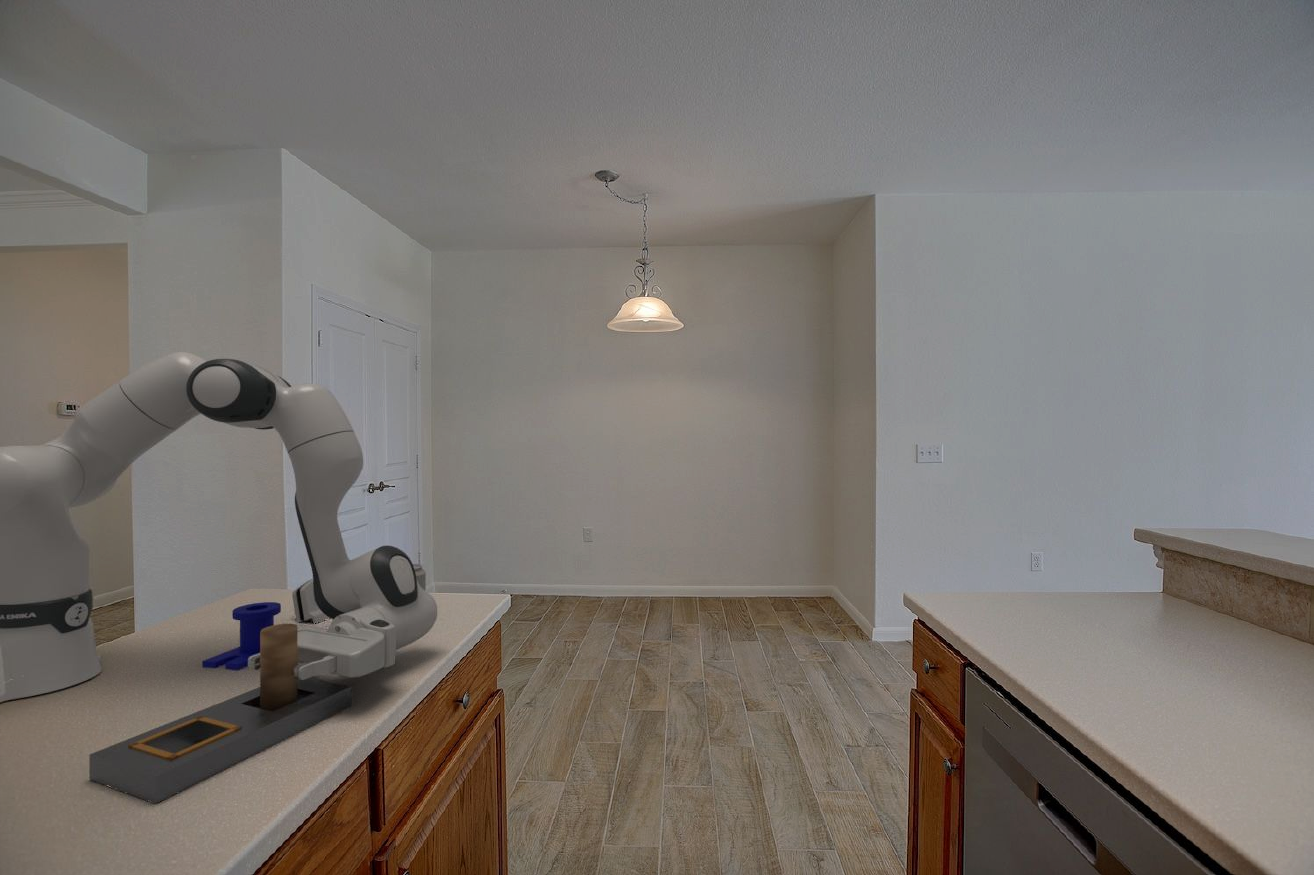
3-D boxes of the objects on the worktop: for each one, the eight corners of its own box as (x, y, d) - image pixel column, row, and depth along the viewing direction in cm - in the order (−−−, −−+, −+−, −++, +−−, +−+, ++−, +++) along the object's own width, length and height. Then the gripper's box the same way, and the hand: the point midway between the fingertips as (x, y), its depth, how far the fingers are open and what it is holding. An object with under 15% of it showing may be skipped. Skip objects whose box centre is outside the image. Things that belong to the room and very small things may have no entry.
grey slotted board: (89, 779, 70) (89, 752, 70) (292, 693, 93) (292, 672, 93) (155, 803, 65) (155, 774, 65) (350, 706, 89) (351, 685, 89)
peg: (252, 726, 83) (252, 633, 83) (273, 711, 87) (274, 623, 87) (284, 726, 83) (284, 633, 83) (303, 711, 87) (304, 623, 87)
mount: (272, 639, 119) (272, 596, 119) (305, 642, 117) (305, 598, 117) (202, 668, 104) (202, 618, 104) (238, 671, 103) (238, 621, 103)
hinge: (314, 624, 128) (301, 580, 128) (297, 630, 129) (285, 586, 130) (370, 603, 144) (358, 564, 145) (354, 608, 145) (343, 569, 146)
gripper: (309, 612, 101) (225, 637, 88) (402, 626, 94) (325, 656, 81) (309, 649, 101) (224, 679, 88) (402, 666, 94) (325, 702, 81)
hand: (273, 668), depth 84 cm, fingers open, 8 cm apart
